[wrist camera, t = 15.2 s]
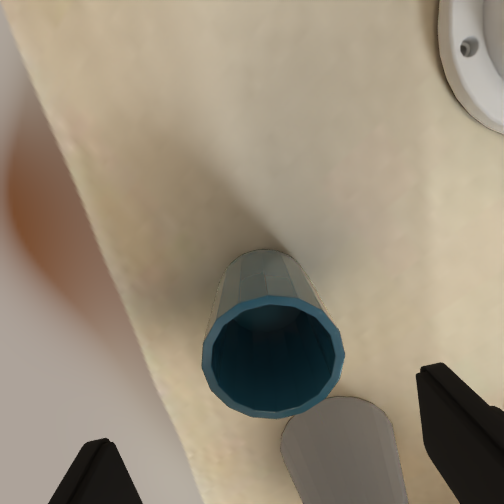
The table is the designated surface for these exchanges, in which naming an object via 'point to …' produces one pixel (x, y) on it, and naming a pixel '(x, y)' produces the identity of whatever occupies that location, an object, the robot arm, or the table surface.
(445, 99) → the table surface
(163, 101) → the table surface
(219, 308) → the cup
